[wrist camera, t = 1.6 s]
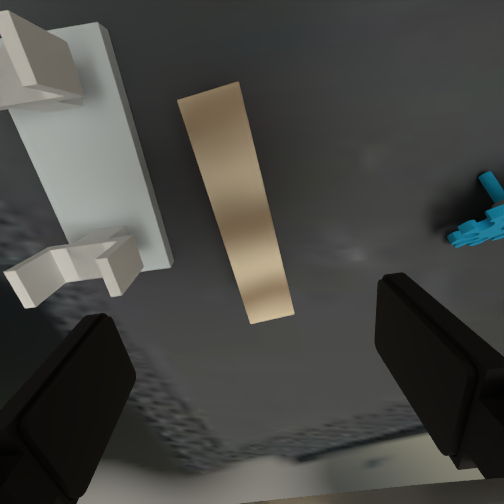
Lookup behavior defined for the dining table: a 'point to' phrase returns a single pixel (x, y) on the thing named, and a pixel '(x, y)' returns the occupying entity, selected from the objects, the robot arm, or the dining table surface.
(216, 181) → the rail
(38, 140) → the cradle
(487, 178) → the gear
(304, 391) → the dining table surface
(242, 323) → the dining table surface
